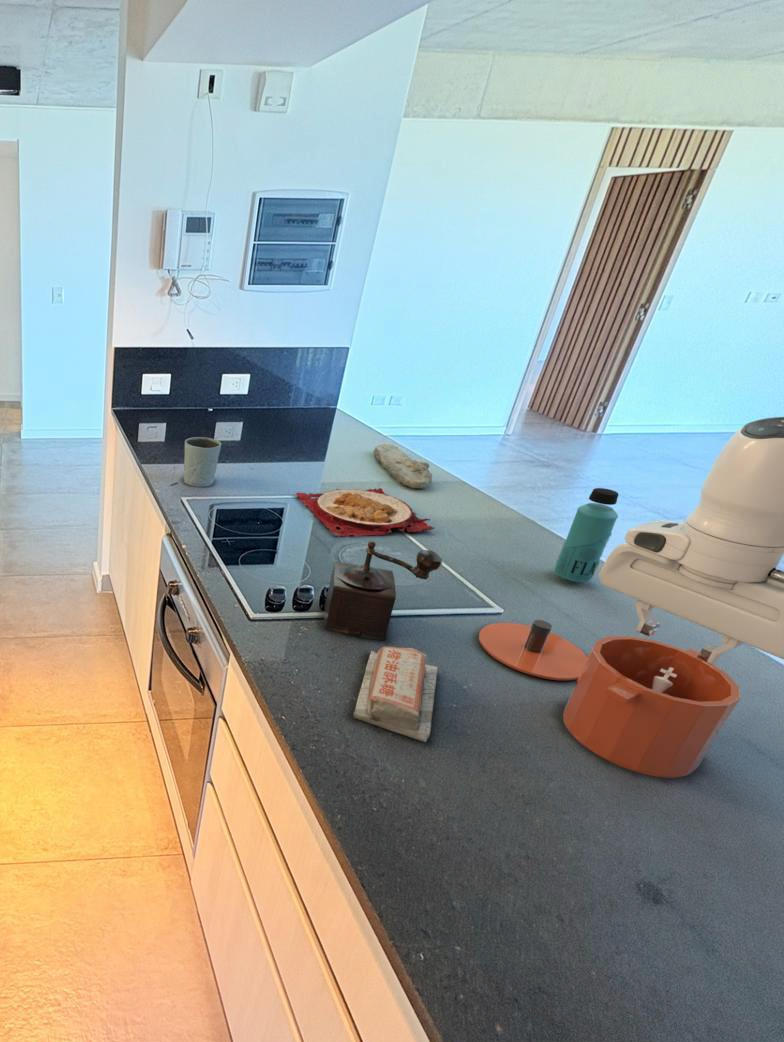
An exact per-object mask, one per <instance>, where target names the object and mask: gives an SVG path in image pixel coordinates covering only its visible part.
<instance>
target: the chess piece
mask: <svg viewBox="0 0 784 1042" xmlns="http://www.w3.org/2000/svg"><path fill="white" fill-rule="evenodd" d="M673 670H674V668H671V667H670V668H669V669H668V671H667V670H664V669H661V670H660V671H661V672H663V673H665V675H664V677H659V676H655V677H654V680H653V686H652V690H655V691H658V692H661V693H662V692H664V691H665V690H666V689H668V688H669V687H671V686H672V685H673V683H672V682H670V681H669V680H668V677H669V676H672V677H675V678H676V676H677V675H676V674H674V673H672V671H673Z"/></svg>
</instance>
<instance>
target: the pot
mask: <svg viewBox="0 0 784 1042" xmlns="http://www.w3.org/2000/svg"><path fill="white" fill-rule="evenodd" d="M699 654H701V652H700V651H697V650H695V649H693V648H688V649H685V650H684V649H682V648H680V647H678V646H674V645H671V644H667V643H664V642H660V641H657V640H654V639H649V638H644V637H643V638H642V637H637V636H630V635H608V636H604V637H602V638H601V639H598V640H596V641H594V643H593V645H592V648H591V650H590V652H589V654H588V656H587V657H588V659H587V661H586V663H585V665H584V667H583V669H582V672H581V674H580V676H579V678H578V679H576V683H575V684H574V687H573V689H572V691H571V693H570V695H569V698H568V700H567V702H566V704H565V707H564V711H563V713H562V720H563V723H564V726H565V727H566V729H567V730H568V732H569V733H570V734H571V735H572V736H573V737H574V738H575V740H577V742H578V743H580V744H581V745H583V746H584V747H585V748H587V749H588V750H590V751H591V752H592V753H594V754H595V755H597V756H599V757H601V758H603V759H604V760H606V761H609V762H610V763H612V764H615V765H617V766H619V767H622V768H625V769H626V770H629V771H633V772H636V773H640V774H643V775H647V776H652V777H656V778H664V779H665V778H667V779H674V778H677V779H678V778H682V777H687V776H688V775H690V774H692V773H693V772H694V771H695V770H697V769H698V768H699V766H700V764H701V763H702V761H703V759H704V758H705V756H706V755H707V753H708V752H709V750H710V748H711V746H712V745H713V743H714V742H715V740H716V739H717V737H718V735H719V734H720V732H721V730H722V729H723V727H724V725H725V724H726V723H727V722H728V719H729V718H730V716H731V715H732V712H733V711H734V709H735V707H736V706H737V705H738V703H739V702H740V700H741V691H740V686H739V685H738V684H737V682H736V681H734V679H732V677H731V676H730V675H729V674H728V673H727V672H726V671H724V670H722V669H721V668H719V667H717V666H716V665H714V664H710V663H707V662H705V661H703V660H701V659H699V658H697V657H698V655H699ZM670 667H671V668H674V670H673V671H672V673H674V674H676V675H677V676H676V678H675V677H672V676H669V677H668V680H669V681H670V682H672V683H673V685H672V686H671V687H669V688H668V689H666V690H665V691H664V692H662V693H661V692H658V691H655V690H652V686H653V680H654V677H655V676H659V677H664V675H665V673H663V672H661V671H660V670H661V669H664V670H667V671H668V669H669V668H670Z"/></svg>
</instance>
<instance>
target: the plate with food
mask: <svg viewBox="0 0 784 1042" xmlns="http://www.w3.org/2000/svg"><path fill="white" fill-rule="evenodd" d="M295 494H296V498H298V499H299V501H300V502H301V504H302V505H304V506H305V507H307V508H308V510H309V511H310V512H312V513H313V515H314V516H316V518H317V519H318V520H319V521H320V522H322V524H323V526H324V527H326V529H328V531H330V533H331V534H332V535H333V536H334V537H349V536H353V537H363V536H365V537H366V536H382V535H384V536H385V535H388V534H390V533H392V530H391V529H394V528H397V530H398V531H399V532H401V531H402V532H403V531H405V529H406V532H407V533H416V532H421V531H427V530H428V531H432V530H434V529H435V528H436V527H435V526H431V525H428V523H426V522H427V521H431V519H430V518H419V517H418V516H417V513H415V512H414V511H413V509H412V508H411V506H410V505H409V504H407V503H406V502H405V501H403V500H402V499H399V498H397V497H395V496H390V495H388V494H386V493H385V491H383V488H381V487H379V488H378V489H377V488H373V489H372V488H369V489H356V488H353V489H351V488H350V489H340V488H336V489H334V490H329V491H327V492H323V493H319V492H317V493H311V492H309V494H308V493H306V492H300V491H299V492H296V493H295ZM425 521H426V522H425ZM337 527H338V528H340V529H337ZM335 534H336V535H335Z"/></svg>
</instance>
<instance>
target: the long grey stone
mask: <svg viewBox="0 0 784 1042" xmlns="http://www.w3.org/2000/svg"><path fill="white" fill-rule="evenodd" d="M372 452H373V454H374V456H375V459H377V461H378V462H380V464H381V466H382V468H384V469H385V470H387V472H388V474H389V475H391V476H392V477H393V478H394V479H395V480H396V481H397V482H398V483H399V484H403V485H404V486H407V487H410V488H411V489H427V488H428V486H429V485H431V484H432V480H433V474H432V473H431V471H430V470H429V468H430V466H431V465H430V464H429V463H428V462H425V461H417V460H413V459H411V458H410V456H408V455H407V454H406V453H404V452H403V451H402V450H401V449H399V447H398V446H395V445H393V444H385V443H383V444H378V445H376V446H375V447H374V449H373V450H372Z"/></svg>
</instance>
